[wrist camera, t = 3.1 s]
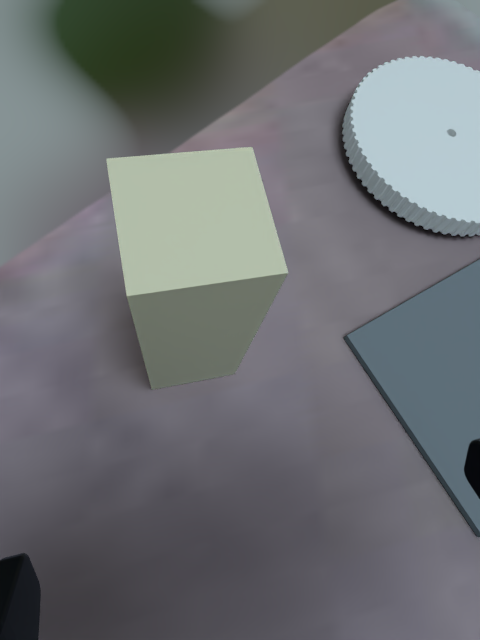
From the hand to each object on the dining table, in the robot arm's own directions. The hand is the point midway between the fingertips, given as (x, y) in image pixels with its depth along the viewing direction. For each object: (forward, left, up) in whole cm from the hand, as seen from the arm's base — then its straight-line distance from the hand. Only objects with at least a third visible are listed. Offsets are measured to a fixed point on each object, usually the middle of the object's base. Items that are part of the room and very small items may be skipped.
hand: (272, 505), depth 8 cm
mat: (+16, -3, -13) cm, 21 cm away
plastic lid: (+24, +11, -14) cm, 30 cm away
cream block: (+2, +7, -13) cm, 15 cm away
